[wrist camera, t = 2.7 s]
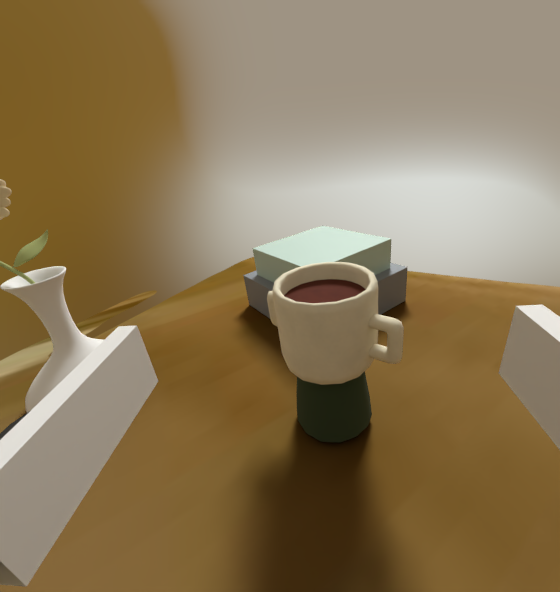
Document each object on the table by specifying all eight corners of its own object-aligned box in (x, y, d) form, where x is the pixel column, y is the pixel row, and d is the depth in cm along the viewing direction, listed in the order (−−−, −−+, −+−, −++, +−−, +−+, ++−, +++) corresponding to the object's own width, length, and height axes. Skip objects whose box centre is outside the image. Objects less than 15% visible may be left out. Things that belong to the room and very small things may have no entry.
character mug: (412, 415, 25) (425, 272, 20) (377, 486, 21) (380, 326, 15) (305, 370, 32) (291, 254, 26) (260, 417, 27) (230, 287, 22)
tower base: (326, 272, 55) (323, 222, 51) (405, 300, 42) (409, 237, 38) (249, 304, 47) (238, 249, 43) (317, 350, 35) (310, 278, 31)
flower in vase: (150, 347, 40) (66, 134, 29) (146, 408, 30) (17, 121, 19) (38, 380, 37) (-105, 154, 26) (-7, 459, 27) (-269, 151, 16)
